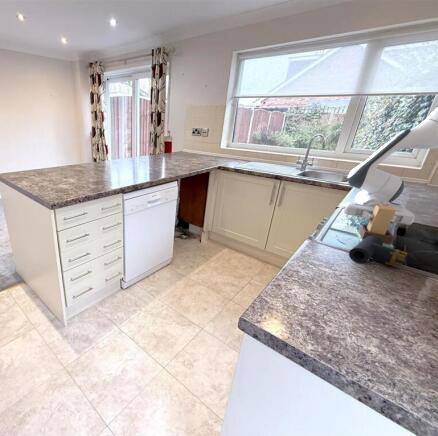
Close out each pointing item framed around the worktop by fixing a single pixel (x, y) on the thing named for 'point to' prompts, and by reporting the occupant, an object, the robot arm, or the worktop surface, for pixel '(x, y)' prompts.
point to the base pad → (386, 238)
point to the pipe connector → (376, 252)
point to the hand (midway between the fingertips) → (381, 219)
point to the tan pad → (381, 219)
